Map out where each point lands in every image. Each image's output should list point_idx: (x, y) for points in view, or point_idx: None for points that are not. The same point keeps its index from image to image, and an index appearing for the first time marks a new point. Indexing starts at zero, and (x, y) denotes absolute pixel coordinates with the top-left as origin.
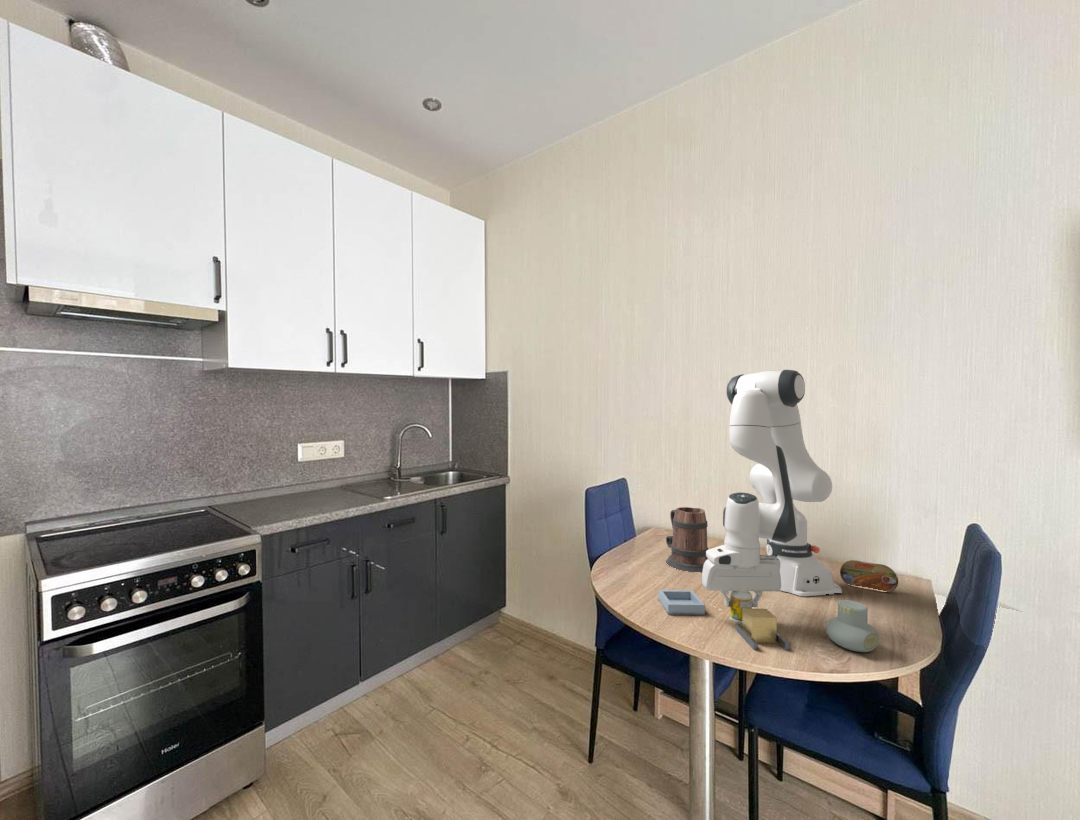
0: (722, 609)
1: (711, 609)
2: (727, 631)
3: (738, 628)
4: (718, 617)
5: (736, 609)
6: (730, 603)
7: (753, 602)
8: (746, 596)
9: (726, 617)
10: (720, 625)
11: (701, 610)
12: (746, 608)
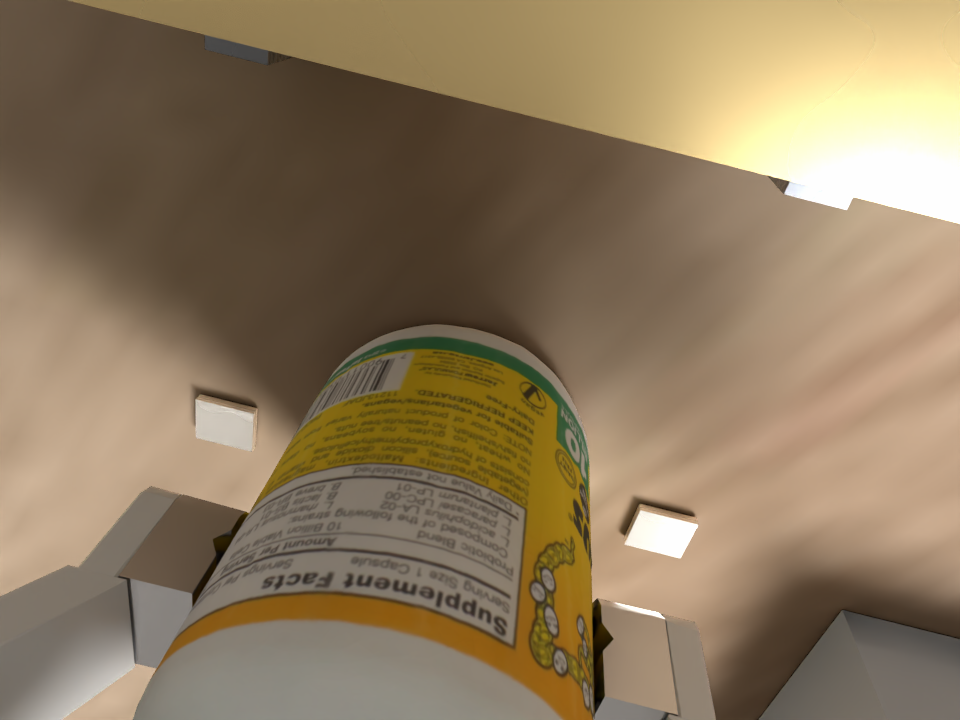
0: None
1: None
2: None
3: None
4: (695, 546)
5: (573, 524)
6: (642, 658)
7: (183, 565)
8: (338, 711)
9: (593, 522)
10: (866, 383)
11: (911, 683)
12: (841, 188)
